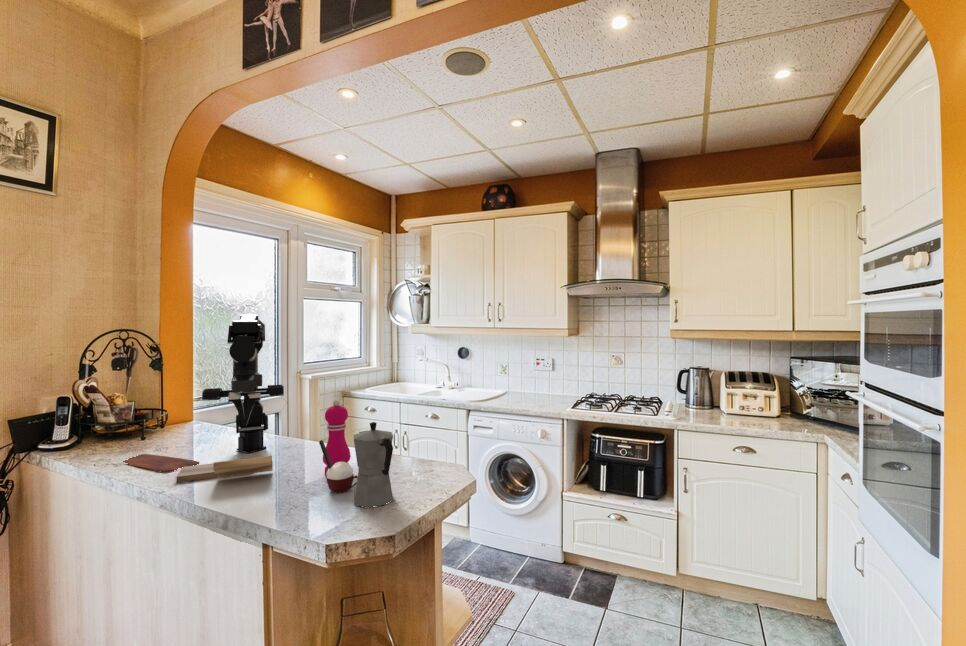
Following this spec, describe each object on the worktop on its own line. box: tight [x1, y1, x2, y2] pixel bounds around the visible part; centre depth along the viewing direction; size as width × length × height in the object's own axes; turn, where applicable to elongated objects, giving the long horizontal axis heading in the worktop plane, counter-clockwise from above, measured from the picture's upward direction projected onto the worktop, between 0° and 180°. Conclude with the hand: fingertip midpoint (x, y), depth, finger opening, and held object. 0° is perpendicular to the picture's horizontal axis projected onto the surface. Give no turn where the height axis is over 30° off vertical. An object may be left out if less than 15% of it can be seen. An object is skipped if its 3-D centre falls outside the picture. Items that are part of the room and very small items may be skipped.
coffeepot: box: [353, 421, 394, 508], centre depth 101 cm, size 15×9×18 cm, turn 39°
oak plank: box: [213, 455, 274, 479], centre depth 116 cm, size 10×13×2 cm
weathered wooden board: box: [176, 462, 219, 483], centre depth 122 cm, size 9×18×2 cm, turn 115°
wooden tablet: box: [123, 453, 200, 473], centre depth 131 cm, size 27×10×2 cm, turn 66°
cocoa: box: [318, 439, 358, 494], centre depth 109 cm, size 10×6×12 cm, turn 67°
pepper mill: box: [322, 399, 351, 477], centre depth 121 cm, size 7×7×20 cm
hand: (244, 426), depth 116 cm, fingers closed
